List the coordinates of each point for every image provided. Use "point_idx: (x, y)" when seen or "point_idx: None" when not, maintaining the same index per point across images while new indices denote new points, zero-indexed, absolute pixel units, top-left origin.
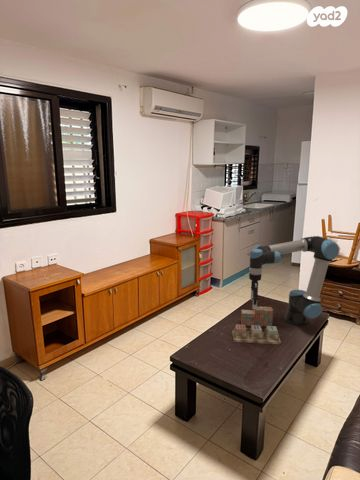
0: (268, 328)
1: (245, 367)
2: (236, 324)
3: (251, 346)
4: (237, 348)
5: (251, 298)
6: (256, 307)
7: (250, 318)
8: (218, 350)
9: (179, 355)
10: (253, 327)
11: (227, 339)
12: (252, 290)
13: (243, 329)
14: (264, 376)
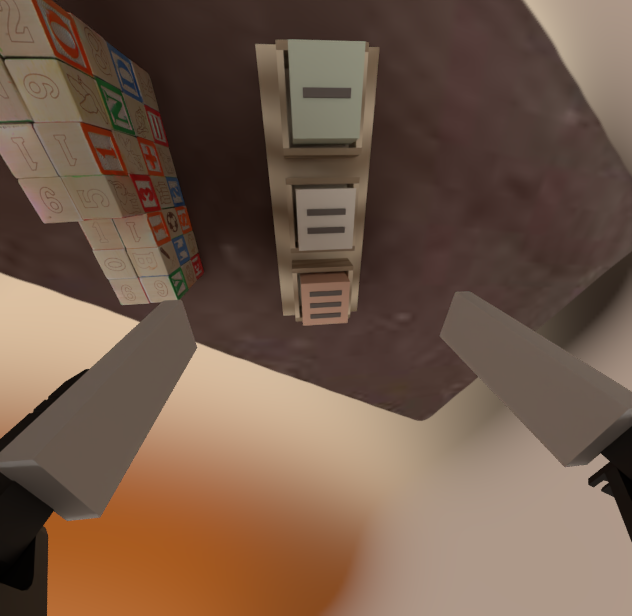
0: (331, 128)
1: (511, 269)
2: (303, 323)
3: (388, 238)
4: (398, 292)
5: (185, 357)
6: (486, 307)
7: (174, 240)
8: (405, 345)
9: (418, 416)
10: (326, 239)
11: (339, 324)
12: (44, 513)
13: (348, 292)
14: (582, 205)
